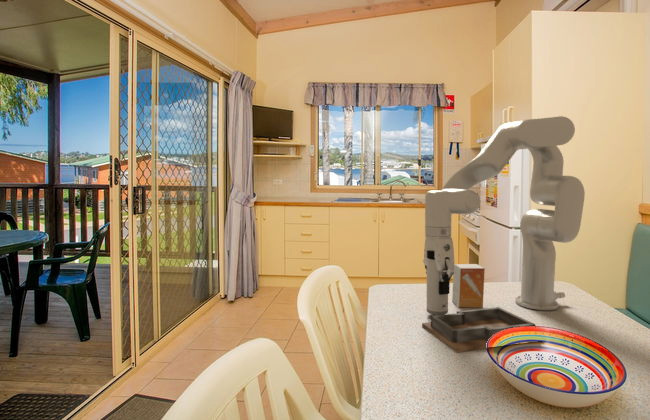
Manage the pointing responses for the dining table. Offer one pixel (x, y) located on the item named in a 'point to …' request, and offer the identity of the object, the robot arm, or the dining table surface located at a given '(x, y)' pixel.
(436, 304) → the travel mug
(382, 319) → the dining table surface
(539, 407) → the dining table surface
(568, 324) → the dining table surface
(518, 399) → the dining table surface
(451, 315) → the keyhole cradle
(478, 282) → the small box
